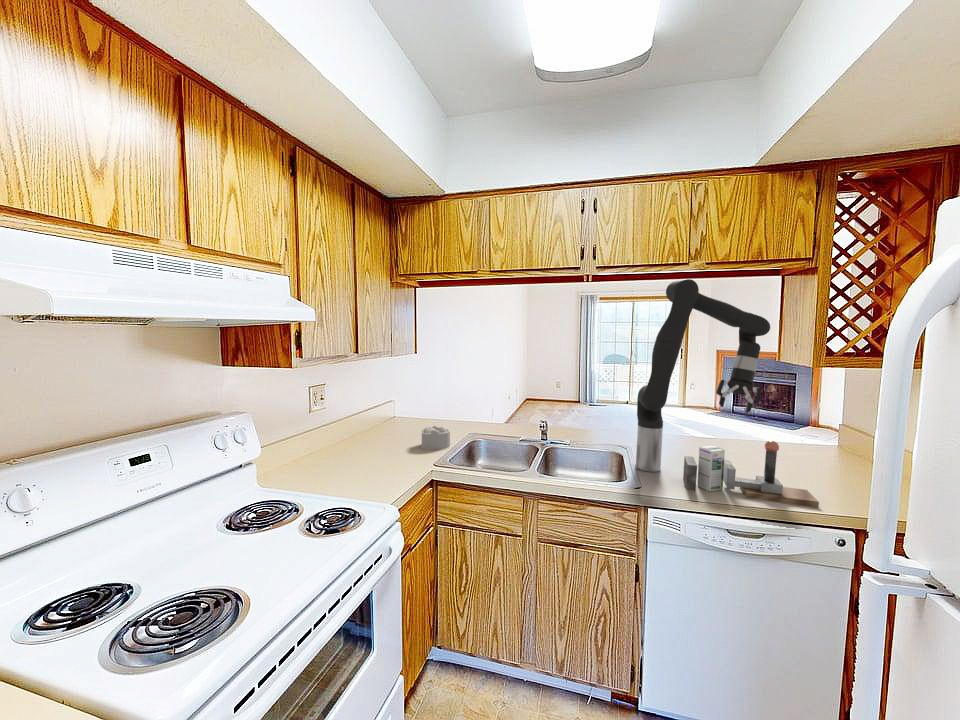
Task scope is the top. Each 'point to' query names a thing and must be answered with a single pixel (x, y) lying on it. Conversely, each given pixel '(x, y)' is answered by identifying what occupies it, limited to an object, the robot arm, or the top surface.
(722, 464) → the syrup box
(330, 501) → the top surface
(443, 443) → the lumpy-topped squat cylinder
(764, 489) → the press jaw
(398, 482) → the top surface
